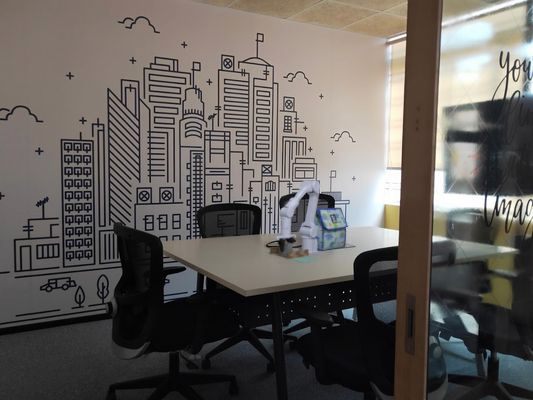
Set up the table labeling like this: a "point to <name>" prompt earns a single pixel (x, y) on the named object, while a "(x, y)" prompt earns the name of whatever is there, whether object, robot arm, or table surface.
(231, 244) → the table surface
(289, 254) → the walnut rack
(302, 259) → the teal mat
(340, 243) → the lunch bag
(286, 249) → the gray rectangular block
